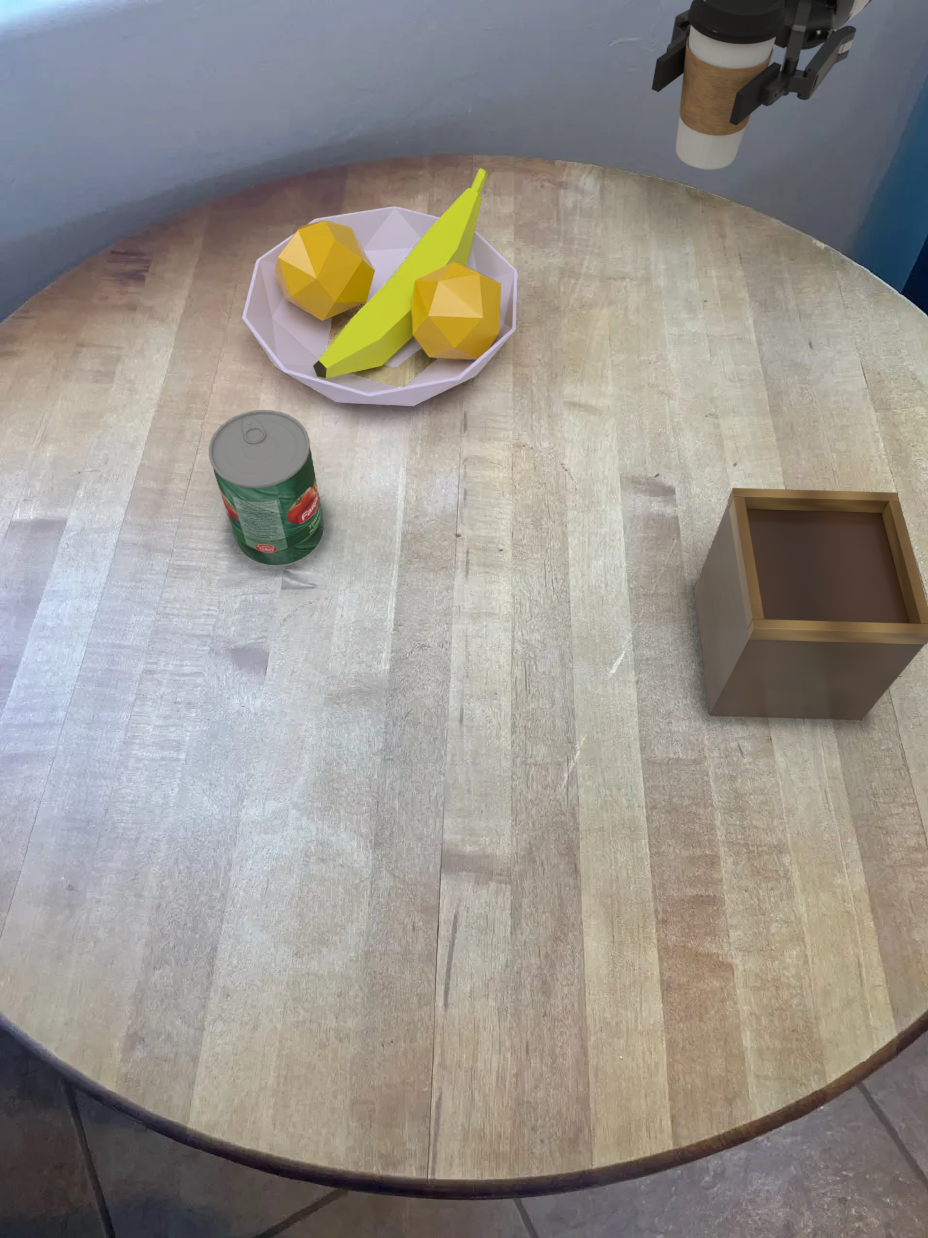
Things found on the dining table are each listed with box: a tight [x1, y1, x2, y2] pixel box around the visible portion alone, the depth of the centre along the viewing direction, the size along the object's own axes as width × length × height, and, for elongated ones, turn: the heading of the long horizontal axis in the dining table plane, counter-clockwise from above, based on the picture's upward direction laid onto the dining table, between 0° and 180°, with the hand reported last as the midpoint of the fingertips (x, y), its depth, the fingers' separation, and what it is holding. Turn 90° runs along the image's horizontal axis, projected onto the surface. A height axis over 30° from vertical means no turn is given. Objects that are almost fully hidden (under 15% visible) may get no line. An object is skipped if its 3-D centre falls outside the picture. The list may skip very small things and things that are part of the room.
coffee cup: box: [675, 0, 786, 171], centre depth 88 cm, size 8×8×15 cm
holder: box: [693, 487, 928, 721], centre depth 73 cm, size 12×12×14 cm
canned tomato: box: [208, 409, 326, 568], centre depth 80 cm, size 8×8×11 cm
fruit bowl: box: [241, 167, 518, 407], centre depth 93 cm, size 28×27×11 cm
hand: (696, 91), depth 86 cm, fingers closed on coffee cup, 8 cm apart
